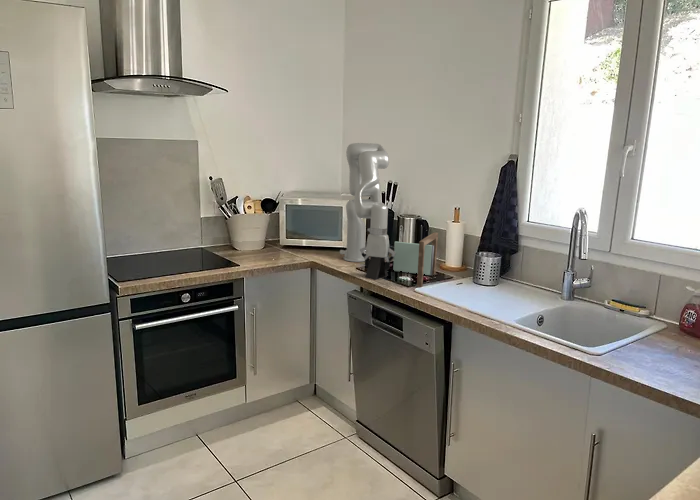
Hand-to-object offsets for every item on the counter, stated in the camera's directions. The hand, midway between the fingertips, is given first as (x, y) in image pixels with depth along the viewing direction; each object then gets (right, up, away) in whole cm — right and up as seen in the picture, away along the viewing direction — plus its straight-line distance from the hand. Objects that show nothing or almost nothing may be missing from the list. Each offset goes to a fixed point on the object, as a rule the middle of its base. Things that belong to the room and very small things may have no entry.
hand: (377, 268), depth 244 cm
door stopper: (0, -4, +1) cm, 4 cm away
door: (+17, -2, +9) cm, 19 cm away
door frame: (+22, -5, -2) cm, 23 cm away
